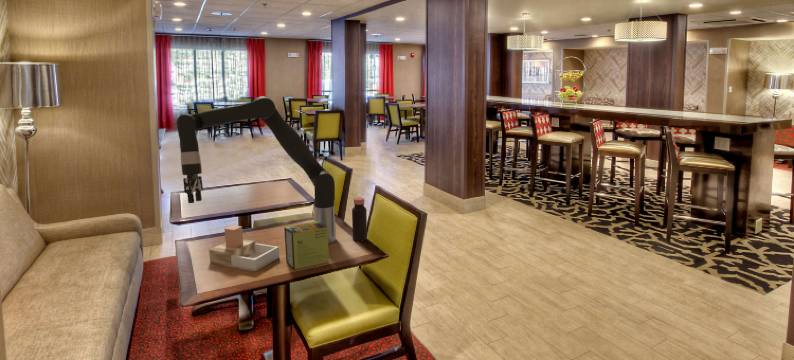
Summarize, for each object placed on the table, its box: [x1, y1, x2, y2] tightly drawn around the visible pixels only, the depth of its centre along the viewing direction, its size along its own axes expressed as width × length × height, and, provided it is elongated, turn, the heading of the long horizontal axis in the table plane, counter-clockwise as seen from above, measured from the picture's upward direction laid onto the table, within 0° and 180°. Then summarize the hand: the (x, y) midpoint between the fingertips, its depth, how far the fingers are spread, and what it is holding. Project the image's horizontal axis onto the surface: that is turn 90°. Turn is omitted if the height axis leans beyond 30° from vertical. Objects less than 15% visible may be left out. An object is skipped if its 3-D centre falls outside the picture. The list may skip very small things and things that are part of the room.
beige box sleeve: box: [208, 238, 256, 268], centre depth 215 cm, size 16×11×6 cm
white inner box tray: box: [231, 242, 280, 272], centre depth 211 cm, size 16×12×5 cm
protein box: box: [283, 220, 330, 270], centre depth 210 cm, size 10×15×16 cm
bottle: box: [351, 196, 368, 242], centre depth 236 cm, size 7×7×20 cm
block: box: [224, 224, 244, 248], centre depth 213 cm, size 5×5×8 cm
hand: (195, 202), depth 209 cm, fingers open, 8 cm apart
